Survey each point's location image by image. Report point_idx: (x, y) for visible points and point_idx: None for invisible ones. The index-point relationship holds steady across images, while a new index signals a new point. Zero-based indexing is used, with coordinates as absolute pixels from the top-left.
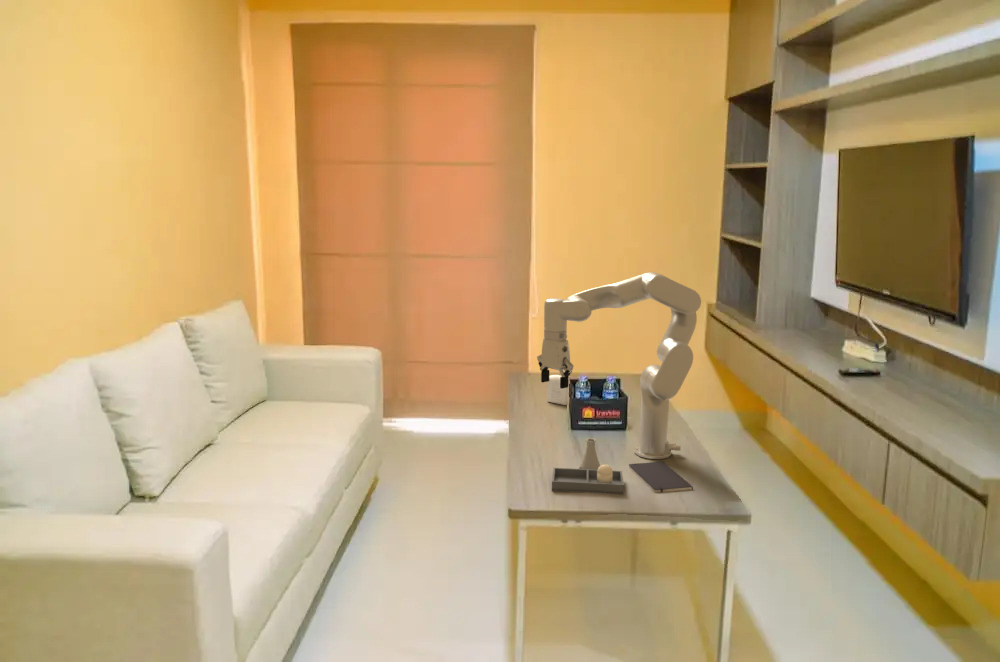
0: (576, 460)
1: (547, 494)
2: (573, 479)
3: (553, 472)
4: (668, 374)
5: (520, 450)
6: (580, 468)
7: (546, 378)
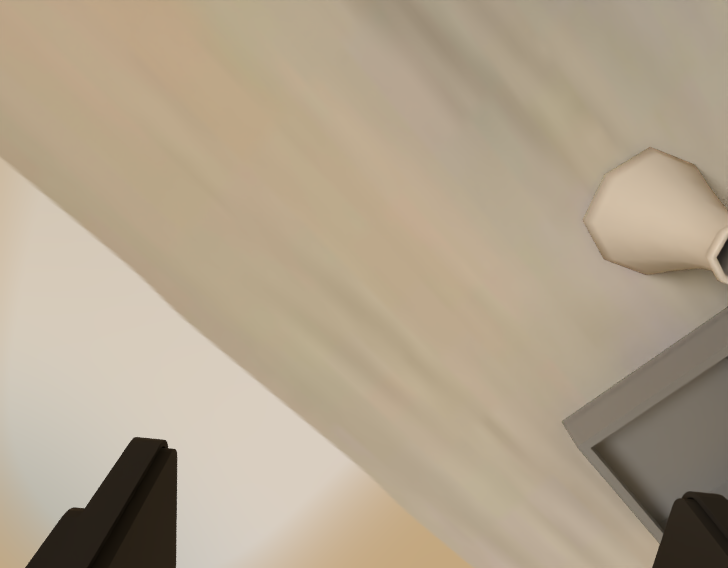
0: (518, 175)
1: None
2: (676, 402)
3: (616, 488)
4: None
5: (193, 296)
6: (615, 262)
7: (153, 546)
